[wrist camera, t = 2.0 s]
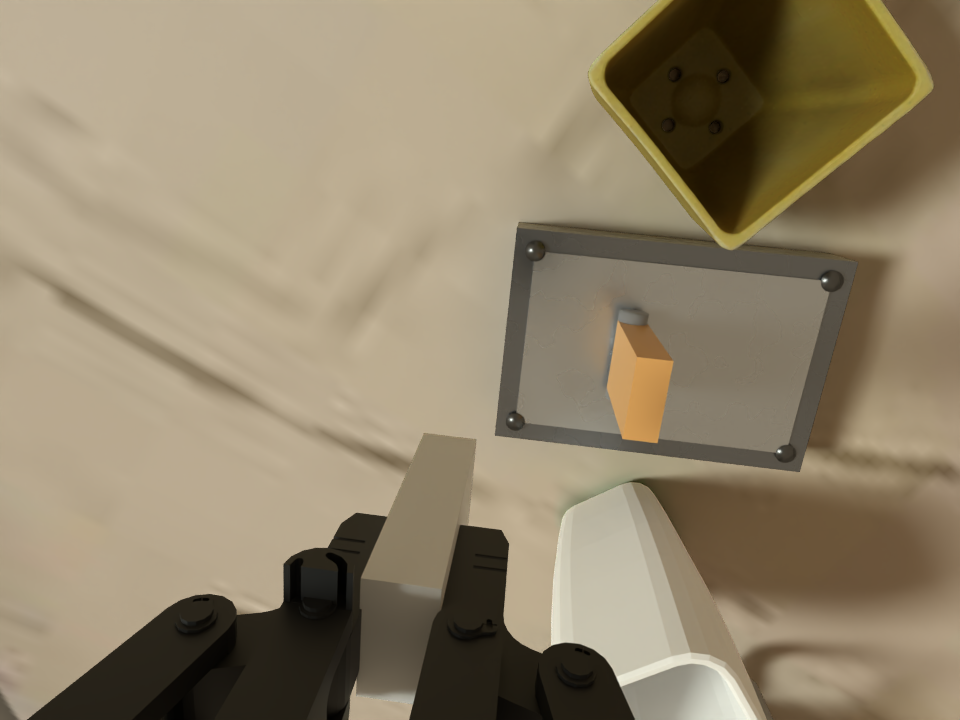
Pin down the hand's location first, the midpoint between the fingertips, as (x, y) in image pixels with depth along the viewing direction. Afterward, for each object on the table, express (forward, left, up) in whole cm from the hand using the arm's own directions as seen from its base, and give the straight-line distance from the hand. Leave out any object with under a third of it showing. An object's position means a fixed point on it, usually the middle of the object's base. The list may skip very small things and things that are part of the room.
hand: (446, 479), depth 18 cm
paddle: (0, +7, -14) cm, 15 cm away
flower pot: (-12, +9, -18) cm, 23 cm away
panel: (0, +9, -18) cm, 20 cm away
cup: (+12, +9, -18) cm, 23 cm away
